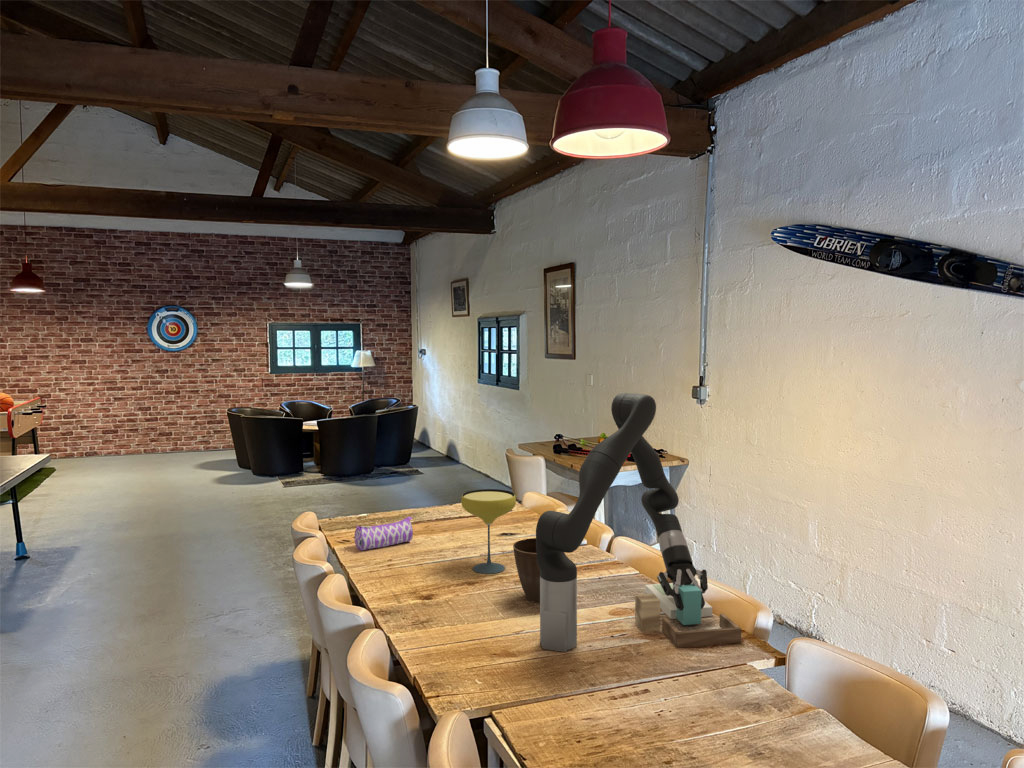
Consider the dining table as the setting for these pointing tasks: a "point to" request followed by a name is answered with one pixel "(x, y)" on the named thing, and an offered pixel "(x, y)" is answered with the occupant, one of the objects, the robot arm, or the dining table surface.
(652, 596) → the beech block
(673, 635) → the walnut tray
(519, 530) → the dining table surface
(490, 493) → the cocktail glass
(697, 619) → the teal block
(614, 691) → the dining table surface
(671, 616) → the cream hole board
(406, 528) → the pencil case
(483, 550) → the dining table surface
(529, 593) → the plant pot
